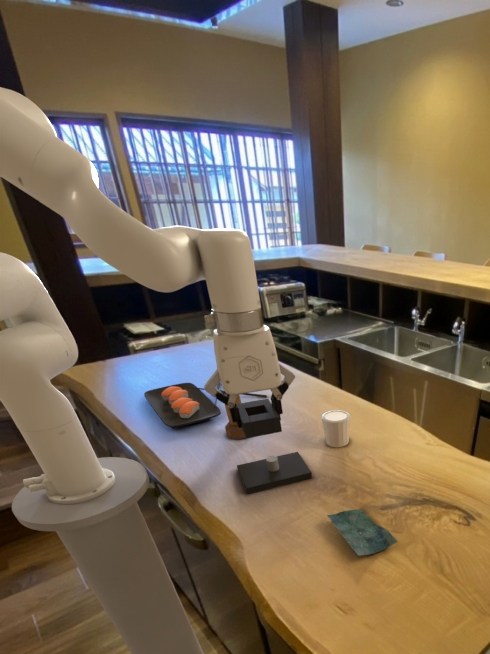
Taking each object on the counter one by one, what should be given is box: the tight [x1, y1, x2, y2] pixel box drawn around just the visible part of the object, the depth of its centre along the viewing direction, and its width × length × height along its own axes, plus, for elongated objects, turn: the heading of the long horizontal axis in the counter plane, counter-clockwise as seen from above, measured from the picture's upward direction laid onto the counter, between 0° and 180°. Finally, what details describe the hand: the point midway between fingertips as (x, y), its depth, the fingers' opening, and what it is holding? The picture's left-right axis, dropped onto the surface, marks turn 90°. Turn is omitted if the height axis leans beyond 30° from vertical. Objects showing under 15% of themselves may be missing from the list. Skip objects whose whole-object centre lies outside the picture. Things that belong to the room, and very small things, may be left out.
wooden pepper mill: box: [222, 390, 247, 440], centre depth 103 cm, size 7×6×18 cm
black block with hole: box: [237, 398, 283, 439], centre depth 79 cm, size 6×9×3 cm
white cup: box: [321, 409, 351, 448], centre depth 103 cm, size 7×7×7 cm
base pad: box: [236, 451, 313, 495], centre depth 92 cm, size 14×10×4 cm
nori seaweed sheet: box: [326, 508, 399, 557], centre depth 77 cm, size 13×8×2 cm, turn 32°
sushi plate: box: [143, 381, 267, 428], centre depth 123 cm, size 29×30×4 cm
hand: (258, 420), depth 80 cm, fingers closed on black block with hole, 6 cm apart
